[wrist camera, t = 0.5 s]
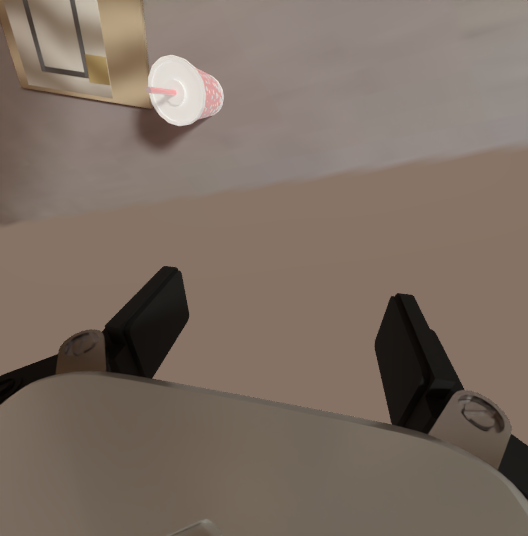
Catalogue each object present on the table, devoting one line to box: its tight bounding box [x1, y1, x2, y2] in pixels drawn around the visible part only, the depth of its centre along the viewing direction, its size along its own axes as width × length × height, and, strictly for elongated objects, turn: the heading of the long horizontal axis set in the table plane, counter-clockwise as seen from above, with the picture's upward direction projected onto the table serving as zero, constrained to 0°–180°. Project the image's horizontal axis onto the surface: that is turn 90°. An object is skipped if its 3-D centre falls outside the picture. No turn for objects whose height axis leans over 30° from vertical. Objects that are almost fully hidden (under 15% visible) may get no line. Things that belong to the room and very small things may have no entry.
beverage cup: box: [146, 55, 224, 126], centre depth 28 cm, size 6×6×14 cm
